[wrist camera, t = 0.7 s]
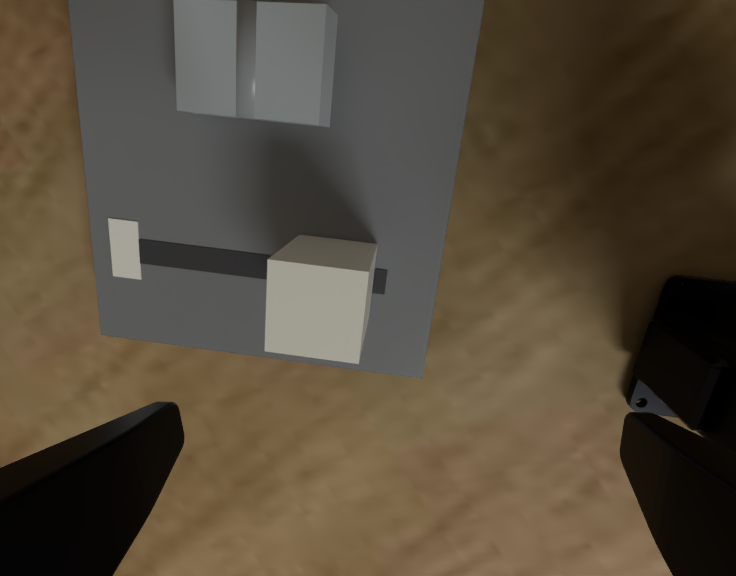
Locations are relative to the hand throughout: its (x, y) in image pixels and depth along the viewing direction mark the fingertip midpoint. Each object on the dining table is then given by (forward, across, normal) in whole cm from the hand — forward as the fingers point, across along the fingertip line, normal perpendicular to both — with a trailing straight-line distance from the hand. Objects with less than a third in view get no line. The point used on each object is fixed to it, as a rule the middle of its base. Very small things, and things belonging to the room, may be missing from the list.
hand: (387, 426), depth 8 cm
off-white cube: (+8, +3, -1) cm, 9 cm away
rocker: (+7, +4, -8) cm, 12 cm away
